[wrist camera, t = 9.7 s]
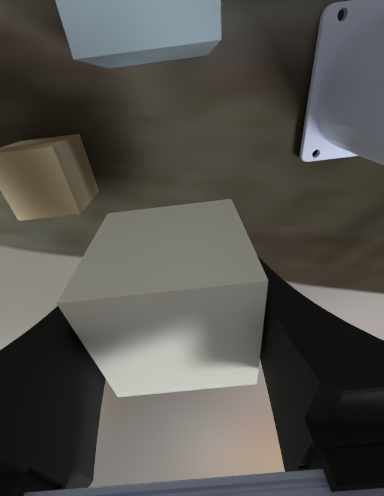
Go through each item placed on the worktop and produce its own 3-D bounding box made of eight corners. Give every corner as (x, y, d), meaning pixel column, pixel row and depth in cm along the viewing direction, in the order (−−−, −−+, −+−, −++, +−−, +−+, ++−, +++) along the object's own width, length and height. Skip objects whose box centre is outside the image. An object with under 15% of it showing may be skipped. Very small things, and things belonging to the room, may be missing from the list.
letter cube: (79, 133, 16) (52, 146, 12) (99, 190, 18) (80, 214, 15) (20, 140, 16) (-23, 155, 12) (47, 196, 18) (17, 220, 15)
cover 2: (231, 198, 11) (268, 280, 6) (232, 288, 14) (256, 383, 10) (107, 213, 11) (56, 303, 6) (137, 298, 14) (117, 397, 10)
